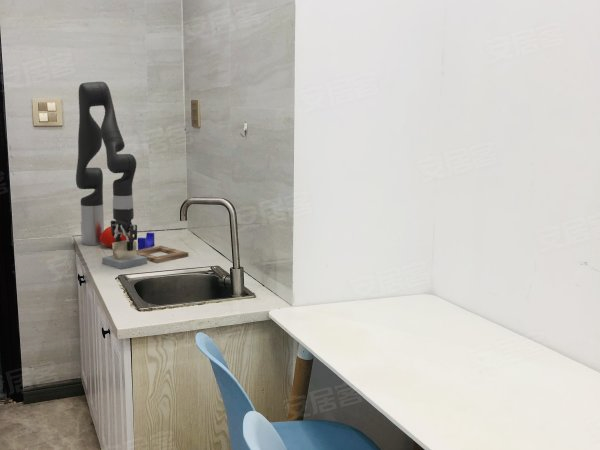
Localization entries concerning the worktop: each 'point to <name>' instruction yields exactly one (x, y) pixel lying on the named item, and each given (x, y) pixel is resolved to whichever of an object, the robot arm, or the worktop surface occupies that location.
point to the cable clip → (146, 241)
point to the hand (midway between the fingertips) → (124, 249)
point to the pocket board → (170, 256)
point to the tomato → (109, 237)
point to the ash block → (123, 250)
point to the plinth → (124, 261)
